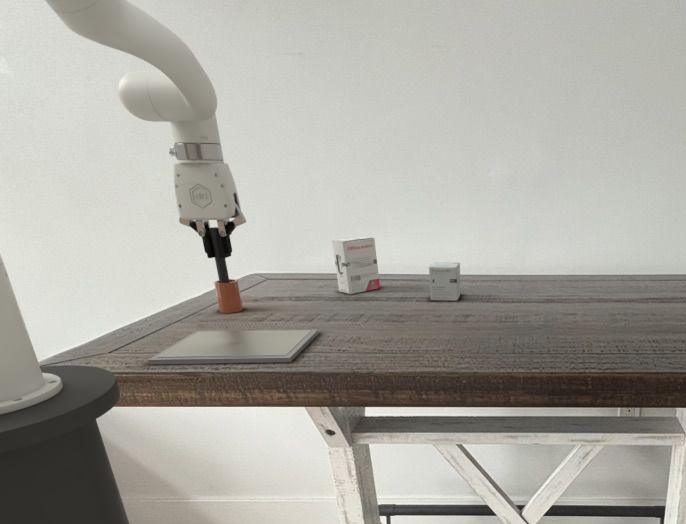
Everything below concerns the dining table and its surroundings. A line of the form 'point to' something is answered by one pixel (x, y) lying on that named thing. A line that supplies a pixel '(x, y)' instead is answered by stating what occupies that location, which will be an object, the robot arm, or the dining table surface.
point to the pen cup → (228, 296)
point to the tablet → (237, 347)
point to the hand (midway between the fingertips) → (219, 256)
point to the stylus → (219, 256)
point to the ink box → (356, 264)
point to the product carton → (444, 281)
